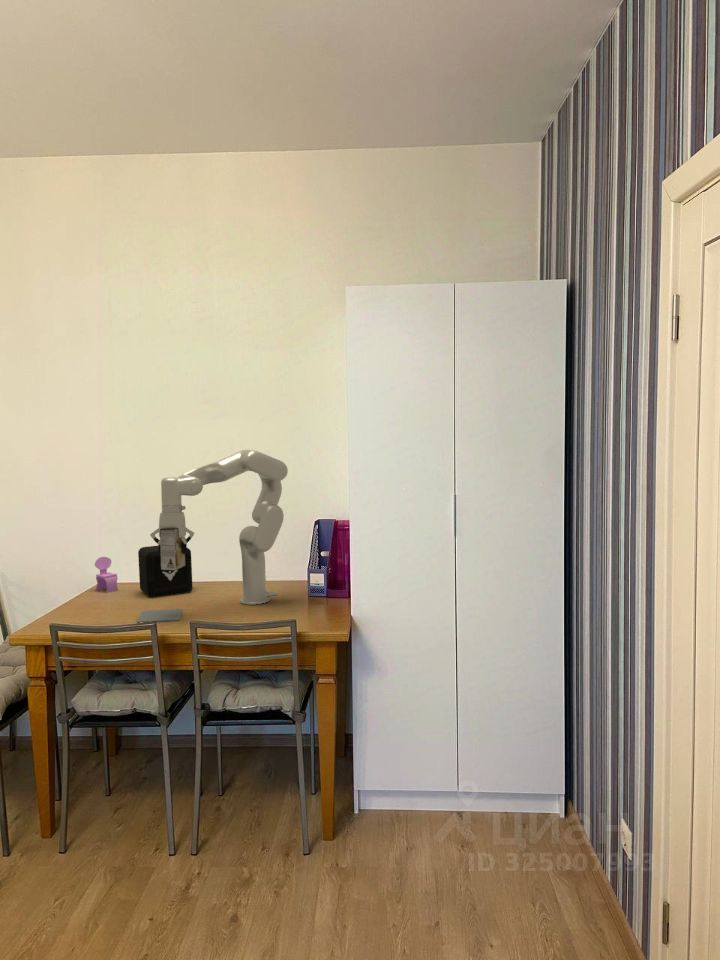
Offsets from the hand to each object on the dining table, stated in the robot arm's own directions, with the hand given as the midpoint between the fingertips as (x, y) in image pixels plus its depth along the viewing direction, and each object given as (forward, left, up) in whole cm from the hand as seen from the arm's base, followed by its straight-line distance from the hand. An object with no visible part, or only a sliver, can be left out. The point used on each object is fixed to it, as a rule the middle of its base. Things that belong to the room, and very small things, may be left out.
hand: (172, 553), depth 309 cm
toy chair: (+34, -50, -25) cm, 65 cm away
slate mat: (+6, 0, -25) cm, 25 cm away
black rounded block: (+7, -40, -25) cm, 47 cm away
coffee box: (0, 0, -6) cm, 6 cm away
